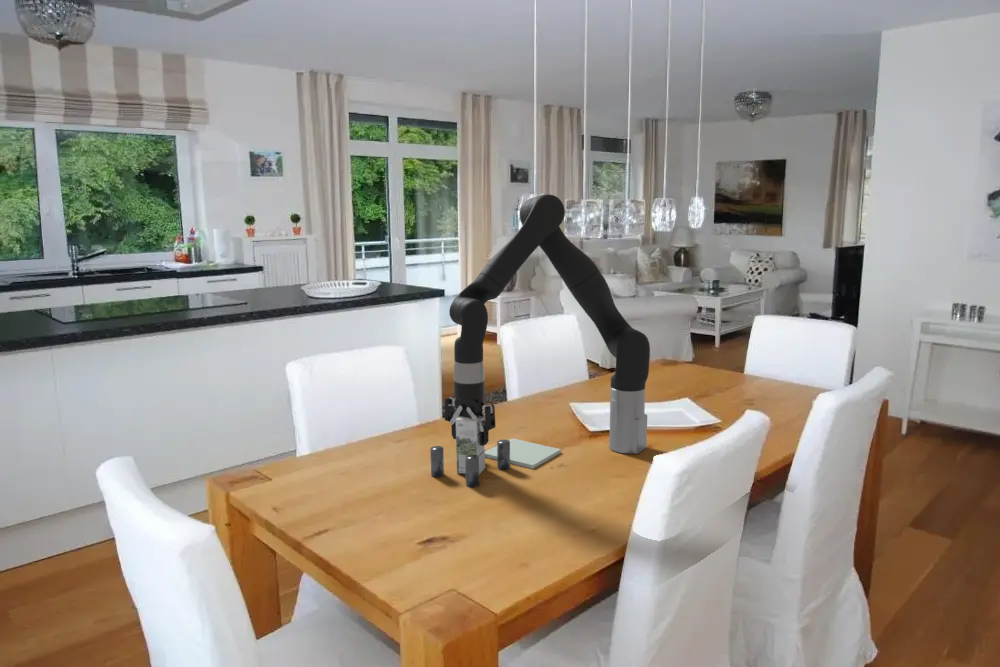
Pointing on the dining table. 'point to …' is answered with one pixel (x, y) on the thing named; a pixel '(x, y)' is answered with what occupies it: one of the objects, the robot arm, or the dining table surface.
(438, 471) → the cylinder
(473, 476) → the cylinder
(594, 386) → the dining table surface
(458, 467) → the syrup box
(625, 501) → the dining table surface
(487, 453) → the sage board
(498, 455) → the cylinder
